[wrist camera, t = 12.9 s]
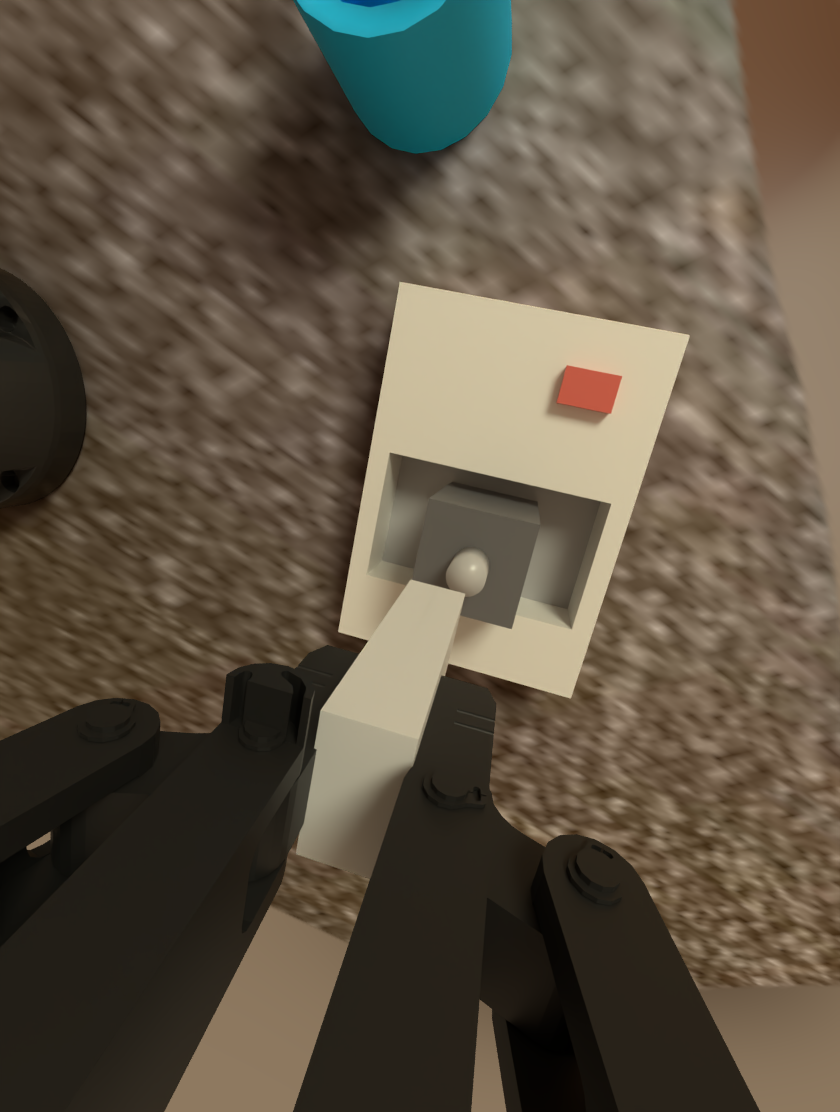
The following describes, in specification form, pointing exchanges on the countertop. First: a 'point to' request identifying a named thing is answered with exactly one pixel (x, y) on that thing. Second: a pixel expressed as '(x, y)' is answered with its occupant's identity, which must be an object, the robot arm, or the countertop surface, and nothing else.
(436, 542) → the plug
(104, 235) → the countertop surface
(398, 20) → the mug
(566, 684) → the socket plate
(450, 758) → the robot arm
